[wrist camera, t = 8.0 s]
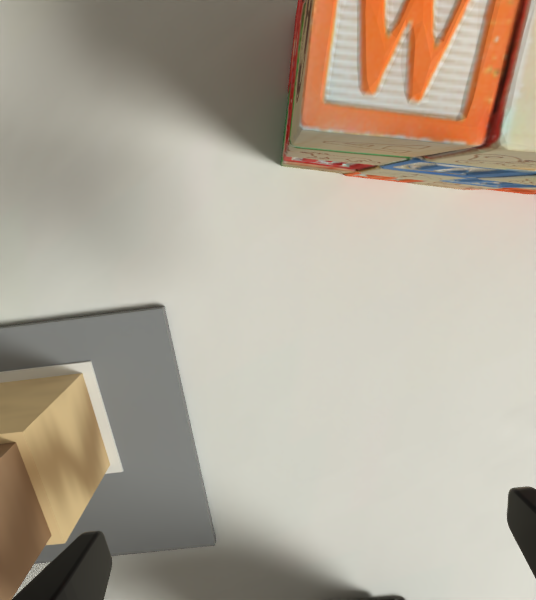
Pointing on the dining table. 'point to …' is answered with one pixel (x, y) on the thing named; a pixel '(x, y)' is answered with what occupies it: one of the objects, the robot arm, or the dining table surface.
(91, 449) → the oak base block
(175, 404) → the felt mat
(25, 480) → the walnut cube
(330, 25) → the stack of blocks
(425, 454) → the dining table surface
